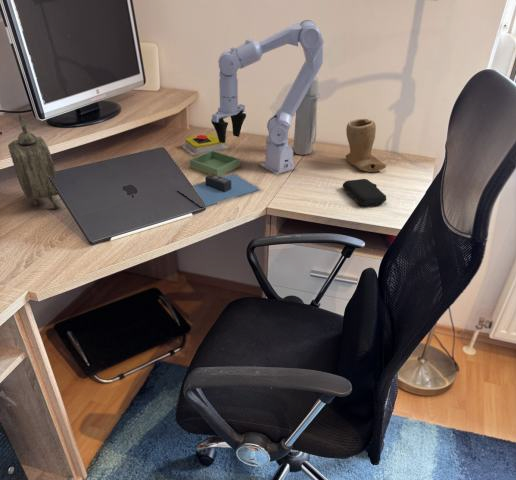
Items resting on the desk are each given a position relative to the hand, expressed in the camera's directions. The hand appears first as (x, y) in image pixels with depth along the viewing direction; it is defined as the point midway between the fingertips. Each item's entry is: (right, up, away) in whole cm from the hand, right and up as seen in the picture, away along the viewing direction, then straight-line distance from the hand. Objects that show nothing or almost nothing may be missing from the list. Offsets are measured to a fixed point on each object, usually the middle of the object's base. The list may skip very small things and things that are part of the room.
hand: (229, 139), depth 167 cm
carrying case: (+44, -22, -8) cm, 49 cm away
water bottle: (+27, +2, +18) cm, 32 cm away
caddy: (-5, -8, +5) cm, 11 cm away
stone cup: (+46, -5, +10) cm, 47 cm away
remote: (-3, -18, -7) cm, 20 cm away
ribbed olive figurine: (-54, -27, -18) cm, 63 cm away
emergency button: (-10, +4, +18) cm, 21 cm away
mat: (-3, -20, -8) cm, 22 cm away
